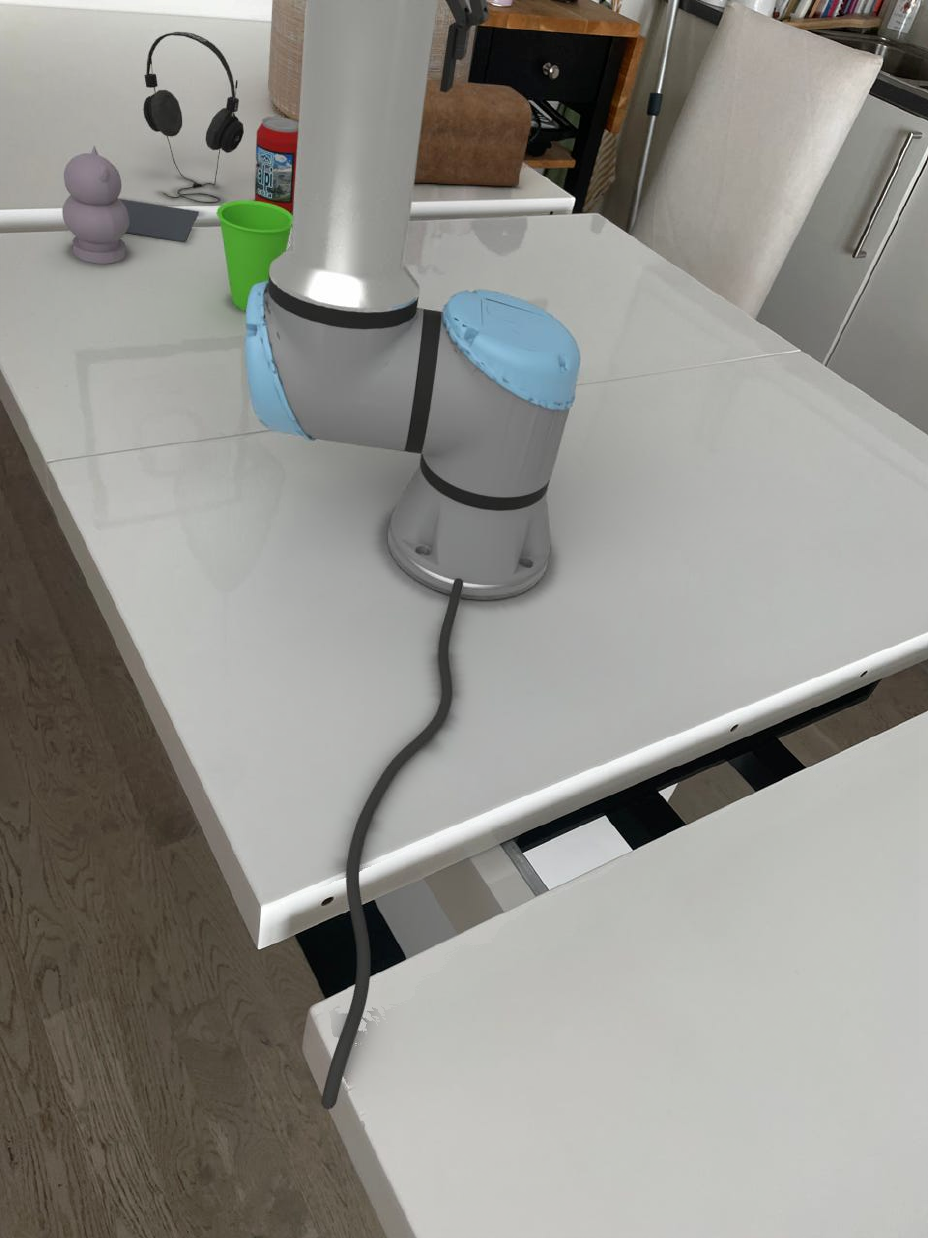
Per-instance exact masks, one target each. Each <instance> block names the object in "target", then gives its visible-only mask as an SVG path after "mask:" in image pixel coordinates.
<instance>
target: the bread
mask: <svg viewBox="0 0 928 1238" xmlns="http://www.w3.org/2000/svg"><path fill="white" fill-rule="evenodd" d="M440 87H441V80H433V79H428V82H427V90H426V98H425V105H424V113H423V120H422V128H421V135H420V143H419V150H418V158H417V166H416V173H415V181H414V183H417V184H418V183H420V184H421V183H423V184H443V185H445V184H446V185H473V186H474V185H475V186H477V185H478V186H493V187H495V186H496V187H497V186H499V187H504V186H505V187H506V186H507V187H509V186H510V187H512V186H519V184H520V177H521V171H522V167H523V162H524V159H525V154H526V150H527V145H528V140H529V136H530V132H531V127H532V119H533V118H532V117H533V111H532V108H531V104H530V102H529V100H527V98H526V97H524V96H523V95H522V94H521V93H519V92H518V91H517V90H516V89H514V88H513V87H512V86H508V85H502V84H501V85H500V84H490V83H478V82H477V83H475V82H469V81H468V82H460V81H453V87H452V88H451V89H450V90H449V91H448V92H442V91H440Z"/></svg>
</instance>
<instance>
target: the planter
mask: <svg viewBox="0 0 928 1238" xmlns="http://www.w3.org/2000/svg"><path fill="white" fill-rule="evenodd" d="M465 1H466V3H467V5H468V8H469V10H470V12H471V7H470V3H469V0H465ZM271 2H272V3H271V21H270V36H269V38H270V39H269V54H268V55H269V56H268V57H269V58H268V78H267V79H268V80H267V83H268V84H267V85H268V86H267V87H268V96H269V98H270V100H271V102H272V103H273V105H275V106H276V108H277V109H278V110H279V111H280V112H281V113H282V114H283V115H284V116H285V117H286V118H288V119H291V120H294V121H296V122H298V123H299V108H300V92H301V76H302V60H303V43H304V27H305V11H306V0H271ZM455 22H456V21H455V19H454V17H453V15H452V12H451V10H450V8H449V6H448V4H447V2H446V0H438V7H437V14H436V22H435V30H434V37H433V45H432V52H431V60H430V67H429V75H428V79H433V80H441V79H442V72H443V65H444V58H445V51H446V44H447V37H448V30H449V26H450V25H451V24H453V23H455ZM476 27H477V25H474V26H471V28H470V34H469V40H468V47H467V53H466V55H465V57H464V58H463V59H462V60H456V67H455V73H454V80H453V81H460V82H469V77H470V68H471V63H472V57H473V56H472V55H473V48H474V40H475V34H476Z"/></svg>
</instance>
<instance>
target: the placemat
mask: <svg viewBox="0 0 928 1238" xmlns="http://www.w3.org/2000/svg"><path fill="white" fill-rule="evenodd" d="M118 199H119V200H120V201H121V202H122V203H123V204H124V205H125V207H126V209H127V211H128V215H129V227H128V229H127V231H126V233H125V234H128V235H129V234H130V235H137V236H143V237H149V238H155V239H162V240H168V241H169V240H170V241H173V242H175V241H176V242H180V243H181V242H182V243H186V241H187V239H188V237H189V235H190V232H191V230H192V228H193V226H194V224H195V222H196V220H197V217H198V215H199V213H200V211H199V210H192V209H185V208H178V207H173V206H166V205H161V204H154V203H147V202H143V201H142V202H141V201H134V200H128V199H122V198H118Z"/></svg>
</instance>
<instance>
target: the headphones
mask: <svg viewBox="0 0 928 1238" xmlns="http://www.w3.org/2000/svg"><path fill="white" fill-rule="evenodd" d="M170 36H177V37H178V36H179V37H185V38H188V39H190V40H194V41H196V42H198V43H200V44H201V45H203V46H205V47H206V48H207V49H209V50H210V51H211V52H212V53H214V54H215V56H216V57H217V58H218V60H219V62H221V64H222V66H223V67H224V70H225V71H226V74H227V78H228V81H229V84H230V90H231V96H228V97H227V99H226V106H225V107H223V108H221V109H220V110H218V112H216V113H215V115H214V116H213V117H212V119H211V121H210V123H209V125H208V127H207V129H206V132H205V138H204V139H205V140H204V141H205V144H206V146H207V148H208V149H210V150H212V151H218V155H217V161H219V160H220V153H221V150H222V152H225V153H226V154H229V153H232V152H233V151H235V150H236V149H237V148H238V146H239V145H240V143H241V142H242V139H243V136H244V131H245V130H244V124H243V123H242V121H240V120H239V118H238V117H237V116H236V114H235V113H236V112H238V110H239V104H240V103H239V102H240V99H239V98H237V89H238V83H239V82H238V81H239V80H237V79H236V80H235V83H234V77H233V73H232V71H231V68H230V65H229V63H228V61H227V59H226V57H225V56H224V54H223V52H221V50H220V49H219V48H218V47H217V46H216V45H215V44H213V43H212V42H211V41H209V40H208V39H207V38H205V37H203V36H201V35H198V34H195V33H192V32H187V31H174V32H169V33H165V34H163V35H160V36H159V37H157V38H156V39H155V40H154V41H153V43H152V44H151V47H150V48H149V50H148V54H147V60H146V74H144V82H145V87H146V88H149V89H152V88H153V91H154V92H153V94H152V95H151V94H150V95H149V96H147V97H146V98H145V100H144V102H143V108H142V110H143V117H144V119H145V122H146V124H147V125H148V127H149V128H150V129H151V131H154V132H155V133H156V132H159V133H161V134H162V135H164V136H165V137H166V138H167V142H168V145H169V149H170V152H171V156H172V161H173V163H174V166H175V167H176V170H177V171H178V173H179V175H180V176H181V177H182V178H184V179H186V180H188V181H190V182H192V183H193V184H192V186H191V187H183V188H180V189H178V191H177V194H178V196H172V195H168V194H166V193H165V192H163V195H164V196H167V197H169V198H172V199H178V198H180V197H181V198H185V199H188V200H191V201H194V202H196V203H203V204H214V203H219V202H221V198H219V197H218V196H214V195H211V194H207V193H201V192H199V193H197V192H196V193H194V195H202V196H209V197H211V198H216V199H217V201H199V200H196V199H193V198H188V197H187V196H189V195H190V196H191V195H192V193H180V191H182V190H188V189H196V188H202V187H203V186H205V185H212V186H215V185H216V180H217V175H218V169H219V168H218V167H219V162H217V164H216V170H215V176H214V183H212V182H208V183H199V182H196V181H194V180H193V179H189V178H188V177H185V176H184V175H183V174H182V172H181V171H180V170H179V167H178V166H177V164H176V160H175V159H174V155H173V151H172V146H171V142H170V139H169V137H176V136H178V134H179V133H180V131H181V129H182V127H183V113H182V109H181V106H180V103H179V100H178V99H177V98H176V96H175V95H174V94H173V92H171V91H169V90H168V89H158V90H157V91H156V87H157V88H158V79H157V74H156V73H154V69H153V60H152V59H153V58H152V57H153V54H154V51H155V50H156V48H157V47H158V44H160V42H161V41H163V40H164V39H165V38H166V37H170ZM150 71H151V73H150Z"/></svg>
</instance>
